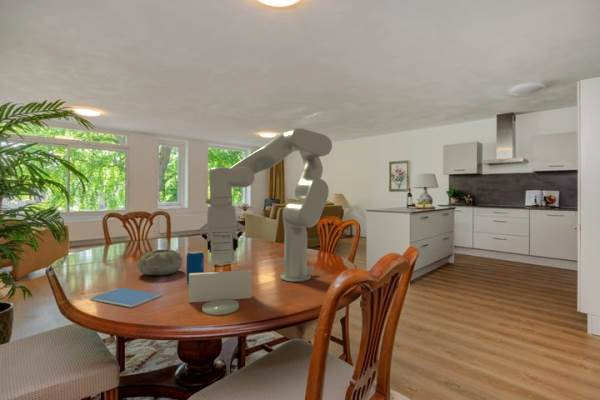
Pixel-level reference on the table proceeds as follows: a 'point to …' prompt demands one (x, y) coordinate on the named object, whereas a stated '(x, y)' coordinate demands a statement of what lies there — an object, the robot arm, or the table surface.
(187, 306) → the table surface
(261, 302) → the table surface
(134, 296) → the blue flat slab
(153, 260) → the grey rounded lump
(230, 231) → the supplement box
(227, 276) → the painted screen
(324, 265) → the table surface
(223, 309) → the round plate
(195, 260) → the beverage can
